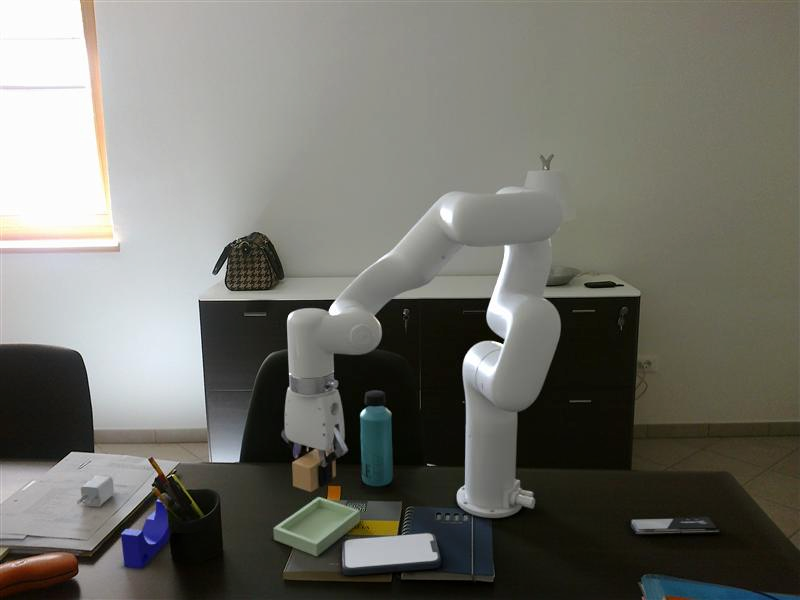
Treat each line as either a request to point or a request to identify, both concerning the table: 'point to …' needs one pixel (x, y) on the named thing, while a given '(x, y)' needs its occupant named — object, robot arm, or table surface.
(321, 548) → the shallow green tray
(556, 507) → the table surface
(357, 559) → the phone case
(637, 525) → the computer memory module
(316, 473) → the wooden block
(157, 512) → the blue tape dispenser
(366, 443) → the beverage bottle
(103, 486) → the usb wall charger
